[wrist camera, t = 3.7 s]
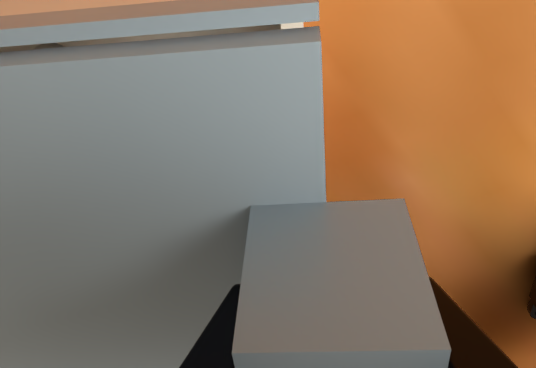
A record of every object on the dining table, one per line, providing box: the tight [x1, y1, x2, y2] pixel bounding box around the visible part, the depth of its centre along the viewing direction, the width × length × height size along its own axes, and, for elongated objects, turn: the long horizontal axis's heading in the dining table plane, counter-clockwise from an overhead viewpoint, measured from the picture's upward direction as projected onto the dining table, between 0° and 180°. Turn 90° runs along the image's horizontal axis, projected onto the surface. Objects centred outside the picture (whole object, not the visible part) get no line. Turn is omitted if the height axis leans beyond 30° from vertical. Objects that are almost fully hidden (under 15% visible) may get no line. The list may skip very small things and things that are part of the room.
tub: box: [0, 0, 303, 52], centre depth 17 cm, size 13×9×5 cm
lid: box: [0, 0, 451, 368], centre depth 10 cm, size 15×10×5 cm
